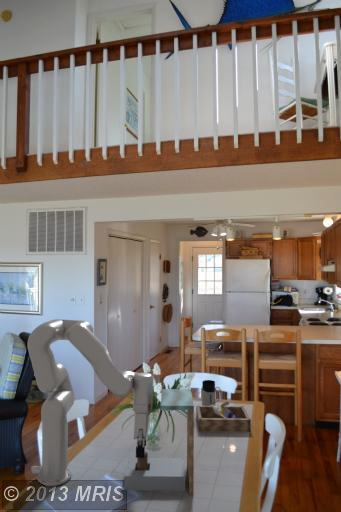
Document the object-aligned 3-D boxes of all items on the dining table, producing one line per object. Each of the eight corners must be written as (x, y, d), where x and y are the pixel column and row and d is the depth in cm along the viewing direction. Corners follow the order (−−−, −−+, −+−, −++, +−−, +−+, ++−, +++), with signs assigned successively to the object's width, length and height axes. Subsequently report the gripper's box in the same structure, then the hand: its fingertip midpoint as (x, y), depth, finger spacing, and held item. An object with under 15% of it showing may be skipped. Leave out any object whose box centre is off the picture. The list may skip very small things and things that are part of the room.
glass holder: (208, 403, 236) (208, 378, 237) (225, 410, 225) (225, 384, 226) (198, 406, 231) (198, 381, 231) (215, 413, 219) (215, 386, 220)
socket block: (124, 490, 142) (124, 476, 142) (128, 470, 156) (128, 457, 156) (184, 490, 142) (184, 476, 142) (183, 471, 156) (183, 458, 156)
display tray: (198, 431, 195) (198, 419, 195) (196, 416, 215) (196, 405, 215) (250, 431, 195) (250, 419, 195) (243, 417, 215) (243, 406, 215)
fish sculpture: (215, 392, 212) (217, 401, 197) (247, 409, 211) (252, 419, 196) (204, 412, 212) (206, 423, 197) (237, 430, 211) (241, 441, 196)
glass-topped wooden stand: (159, 495, 139) (160, 405, 140) (161, 467, 159) (161, 389, 160) (193, 495, 139) (193, 405, 140) (190, 467, 159) (190, 389, 160)
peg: (136, 482, 147) (136, 455, 147) (137, 477, 151) (137, 451, 151) (147, 482, 147) (147, 455, 147) (147, 477, 151) (148, 451, 151)
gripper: (135, 398, 159) (133, 441, 158) (130, 414, 141) (128, 462, 141) (153, 399, 159) (151, 442, 158) (151, 414, 141) (149, 462, 141)
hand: (141, 451), depth 149 cm, fingers open, 9 cm apart
